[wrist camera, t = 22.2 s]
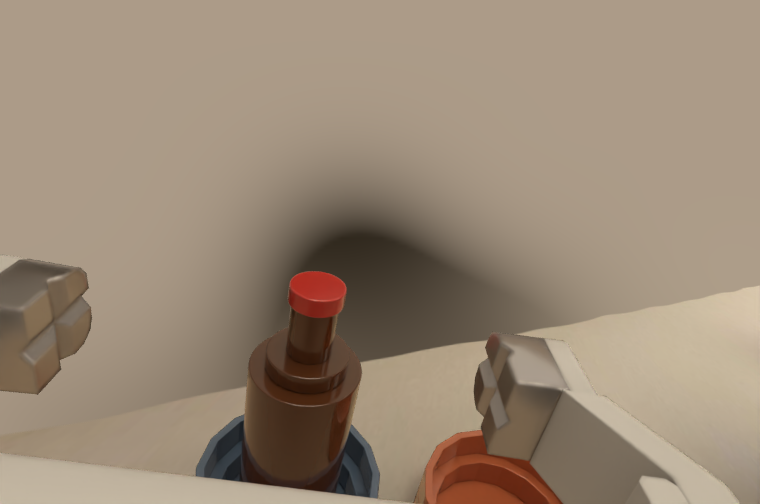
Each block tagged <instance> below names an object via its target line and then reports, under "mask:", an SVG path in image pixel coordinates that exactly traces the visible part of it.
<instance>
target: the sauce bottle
mask: <svg viewBox="0 0 760 504" xmlns="http://www.w3.org/2000/svg"><path fill="white" fill-rule="evenodd" d="M346 292H347V289H346V285H345V284H344V282H343V281H342V280H340V279H339V278H338V277H336V276H334V275H331V274H328V273H324V272H317V271H310V272H303V273H300V274H297V275H296V276H294V277H293V278H292V279H291V281H290V284H289V293H288V302H289V305H290V306H291V311H290V319H289V327H288V328H285V329H282V330H280V331H279V332H277V333H276V334H274V335H273V336H272V337H270V338H268V339H266V340H265V341H263V342H262V343H261V344H259V345H258V346H257V347H256V348H255V350H254V351H253V353H252V354H251V357H250V360H249V366H248V377H247V390H246V402H245V414H244V426H243V439H242V451H241V463H240V475H239V482H247V483H255V484H263V485H271V486H280V487H288V488H296V489H304V490H312V491H320V492H328V493H336V490H337V486H338V481H339V477H340V472H341V467H342V463H343V458H344V454H345V449H346V445H347V440H348V436H349V431H350V427H351V422H352V418H353V413H354V408H355V404H356V399H357V395H358V390H359V386H360V381H361V376H362V369H361V364H360V361H359V359H358V357H357V356H356V354H355V353H354V352H353V351H352V350H351V348H349V347H348V346H347V344H346V343H345V341H344V340H343V339H342V338H341V337H340V336H338V335H337V334H335V331H336V325H337V319H338V314H339V313H340V312H341V311H342V309H343V307H344V304H345V298H346Z"/></svg>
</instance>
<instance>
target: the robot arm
mask: <svg viewBox="0 0 760 504" xmlns="http://www.w3.org/2000/svg"><path fill="white" fill-rule="evenodd" d="M88 288H89V287H88V281H87V275H86V272H84V271H83V270H82V269H81V268H79V267H73V266H67V265H61V264H55V263H50V262H44V261H39V260H32V259H25V258H22V257H15V256H8V255H0V391H9V392H19V393H29V394H37V395H38V394H39V393H40V392H41V391H42V389H43V388H44V387H45V386H46V385H47V384H48V383H49V382H50V381H51V380H52V379H53V377H54V376H55V375H56V374H57V373H58V372H59V371H60V370H61V366H60V360H61V359H64V358H66V357H68V356H70V355H73V354H75V353H76V352H77V351H78V350H79V349H80V347H81V346H82V345H83V344H84V342H85V340H86V338H87V336H88V333H89V331H90V328H91V320H92V315H91V307H90V306H89V304H88V303H87V302H86V301H85V300H84V299H83V297H82V295H83V294H84V293H85V292H86V290H87V289H88ZM485 348H486V352H487V355H488V358H487V359H486V360H485V361H483V362H482V363H481V364H479V367H478V370H477V373H476V377H475V384H474V400H475V405H476V409H477V411H478V412H479V413H480V414H481V415H482V416H483V417H484V419H483V422H482V425H481V430H482V434H483V438H484V442H485V446H486V450H487V454H490V455H496V456H502V457H508V458H515V459H521V460H527V461H530V464H531V465H532V467H533V468H534V469H535V470H536V471H537V473H538V474H539V475H540V476H541V477H542V479H543V480H544V481H545V482H546V483H547V485H548V486H549V487H550V488H551V489H552V491H553V492H554V493H555V494H556V496H557V497H558V498H559V499H560V500H561V502H562V503H563V504H740V502H739V501H738V500H737V498H736V497H735V496H734V494H733V493H732V491H731V490H730V489H729V487H728V486H727V485H726V484H724V483H723V482H722V481H720V480H719V479H718V478H716V477H715V476H714V475H712V474H711V473H709V472H708V471H707V470H705V469H704V468H703V467H701V466H700V465H699V464H697V463H696V462H695V461H693V460H692V459H690V458H689V457H688V456H686V455H685V454H684V453H682V452H681V451H680V450H678V449H677V448H675V447H674V446H673V445H671V444H670V443H669V442H667V441H666V440H665V439H663V438H662V437H660V436H659V435H658V434H656V433H655V432H654V431H652V430H651V429H650V428H648V427H647V426H645V425H644V424H643V423H641V422H640V421H639V420H637V419H636V418H635V417H633V416H632V415H630V414H629V413H628V412H626V411H625V410H624V409H622V408H621V407H620V406H618V405H617V404H615V403H614V402H613V401H611V400H610V399H609V398H607V397H606V396H602V395H598V394H597V393H596V391H595V389H594V387H593V386H592V384H591V382H590V380H589V379H588V377H587V375H586V374H585V372H584V370H583V368H582V367H581V365H580V363H579V361H578V360H577V358H576V356H575V354H574V353H573V351H572V349H571V348H570V346H569V344H568V343H566V342H565V341H563V340H556V339H547V338H536V337H529V336H521V335H514V334H506V333H498V332H492V334H491V335H490V337H489V339H488V341H487V344H486V347H485ZM0 504H416V503H408V502H400V501H392V500H384V499H376V498H368V497H360V496H352V495H344V494H336V493H328V492H320V491H312V490H304V489H296V488H288V487H280V486H271V485H263V484H255V483H247V482H238V481H230V480H222V479H214V478H205V477H197V476H189V475H181V474H173V473H164V472H156V471H148V470H140V469H131V468H123V467H115V466H107V465H98V464H90V463H82V462H74V461H66V460H58V459H49V458H41V457H33V456H25V455H17V454H9V453H0Z"/></svg>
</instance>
